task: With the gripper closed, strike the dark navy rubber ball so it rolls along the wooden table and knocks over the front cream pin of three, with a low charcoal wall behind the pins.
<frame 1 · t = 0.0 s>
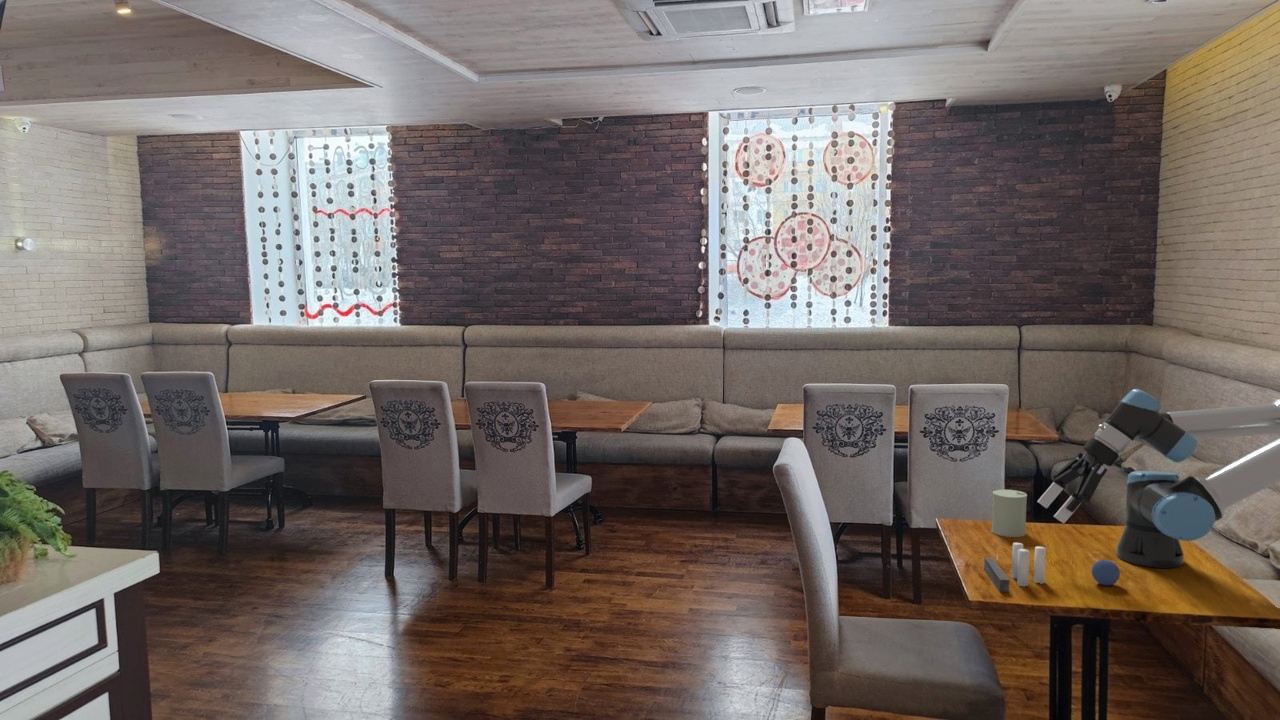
hand: (1049, 512, 220), 15 cm above the table, tool tilted 35°, fingers open, 13 cm apart
back wall: (996, 580, 216), on the table
pin front: (1039, 582, 215), on the table
ball: (1105, 572, 212), on the table
can: (1008, 533, 255), on the table
pin back right: (1016, 577, 218), on the table
pin back left: (1022, 584, 213), on the table
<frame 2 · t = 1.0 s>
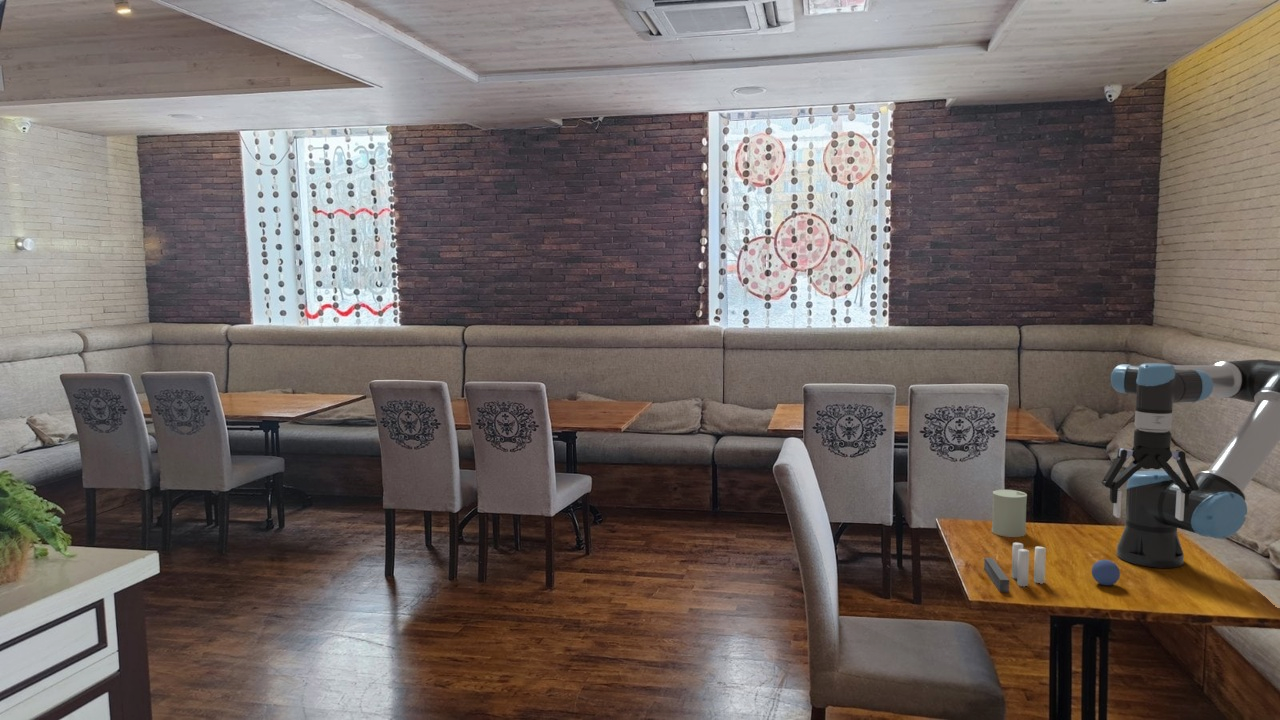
hand: (1147, 517, 210), 17 cm above the table, tool pointing down, fingers open, 13 cm apart
nothing on the table moved.
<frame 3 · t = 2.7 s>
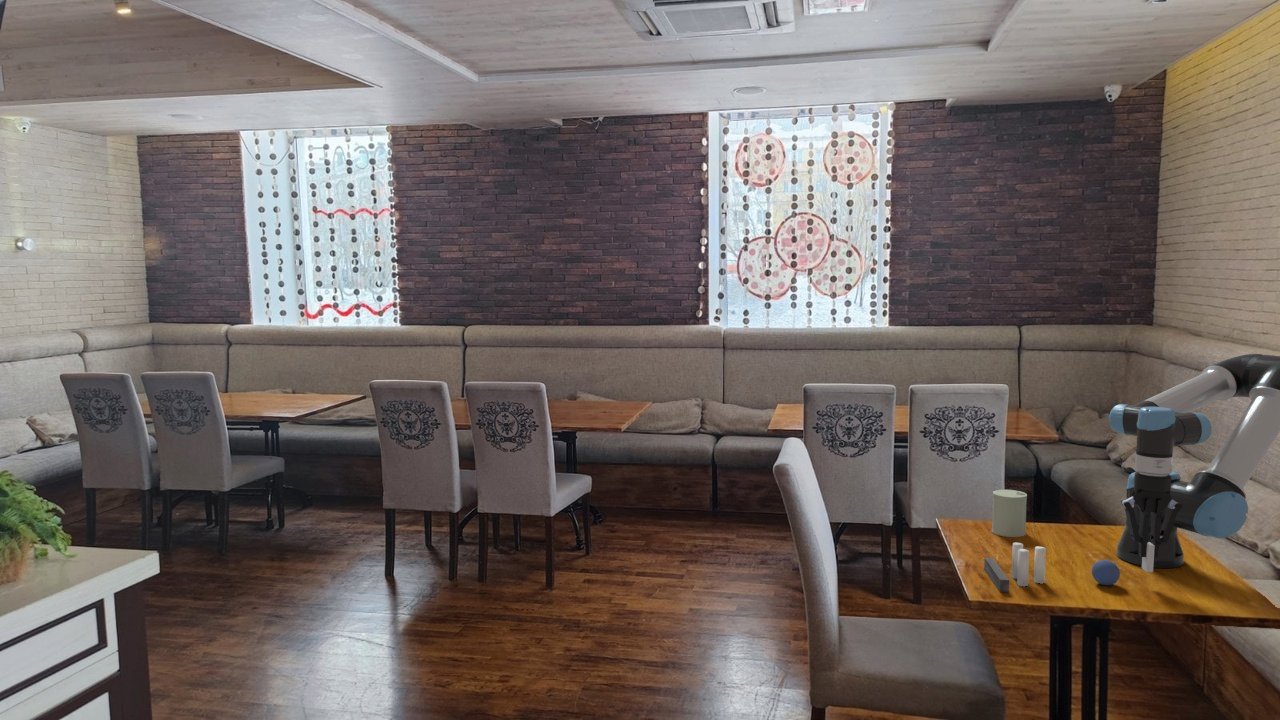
hand: (1147, 570, 210), 4 cm above the table, tool pointing down, fingers closed
nothing on the table moved.
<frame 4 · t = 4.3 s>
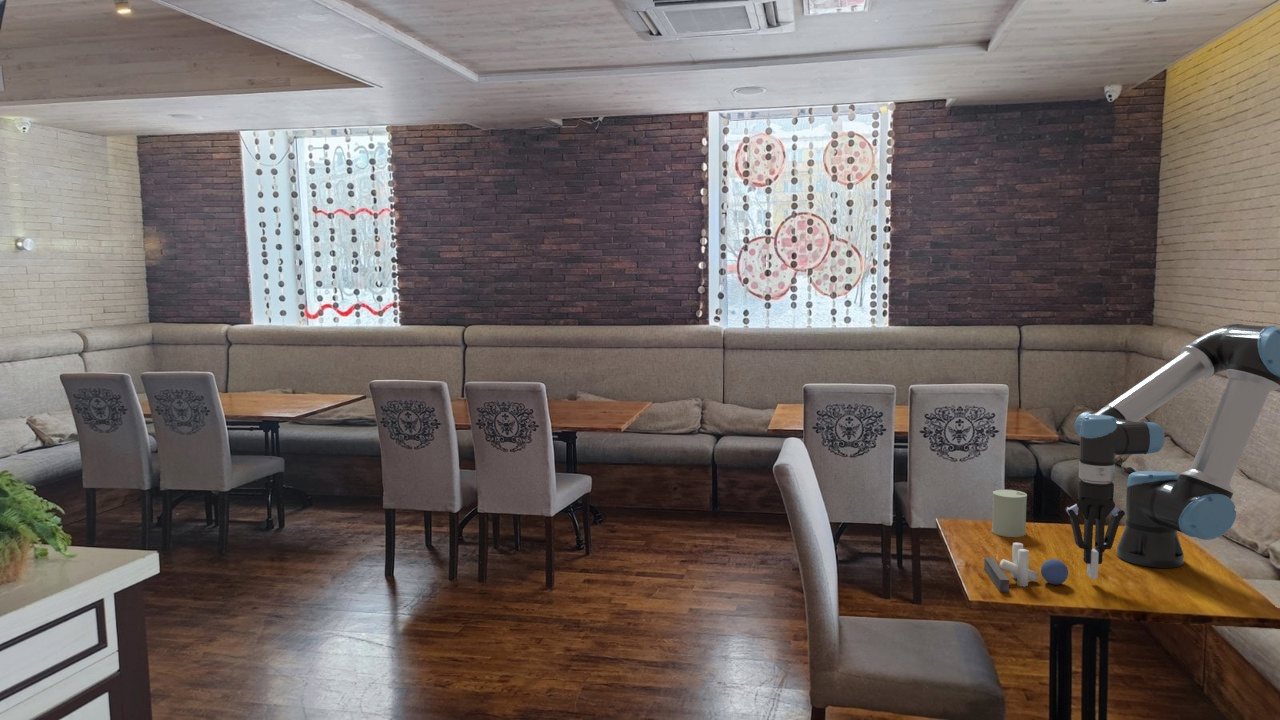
hand: (1092, 576, 213), 2 cm above the table, tool pointing down, fingers closed
pin front: (1035, 577, 215), point 1 cm above the table, tilted 69°, touching back wall
ball: (1054, 571, 213), on the table
everything else where it was.
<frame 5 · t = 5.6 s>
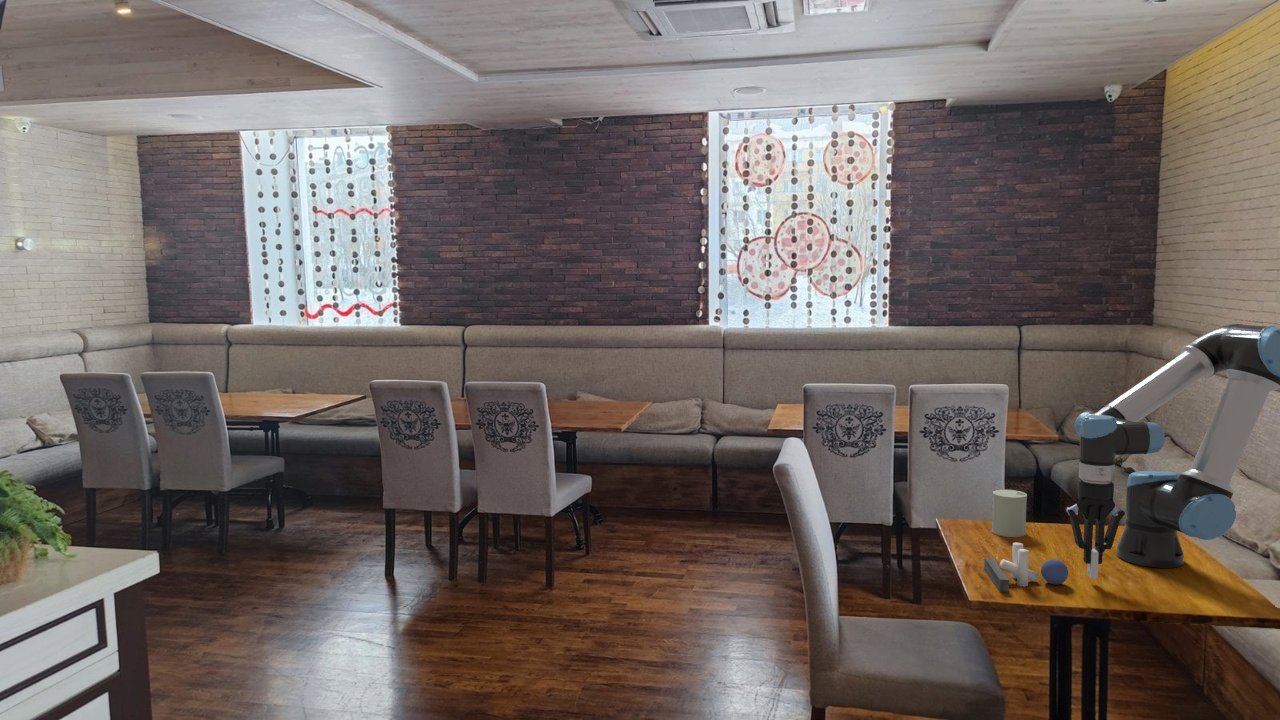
hand: (1092, 576, 213), 2 cm above the table, tool pointing down, fingers closed
nothing on the table moved.
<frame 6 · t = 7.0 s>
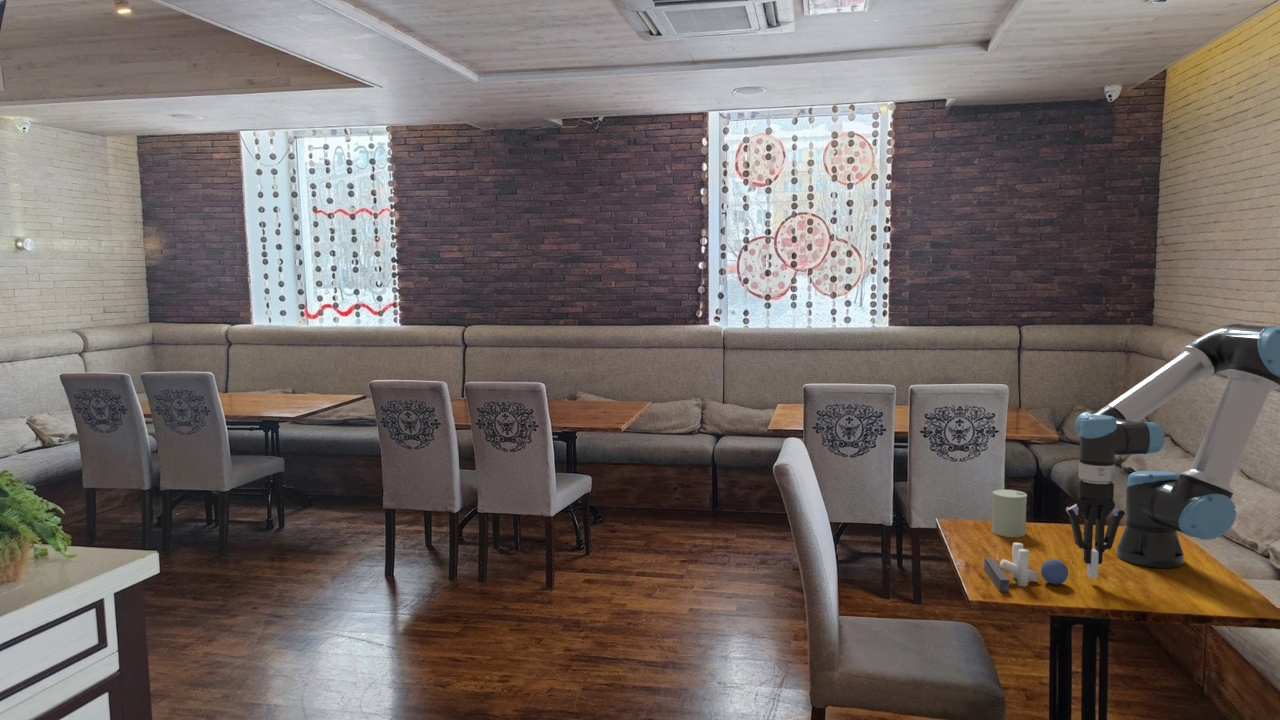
hand: (1092, 576, 213), 2 cm above the table, tool pointing down, fingers closed
nothing on the table moved.
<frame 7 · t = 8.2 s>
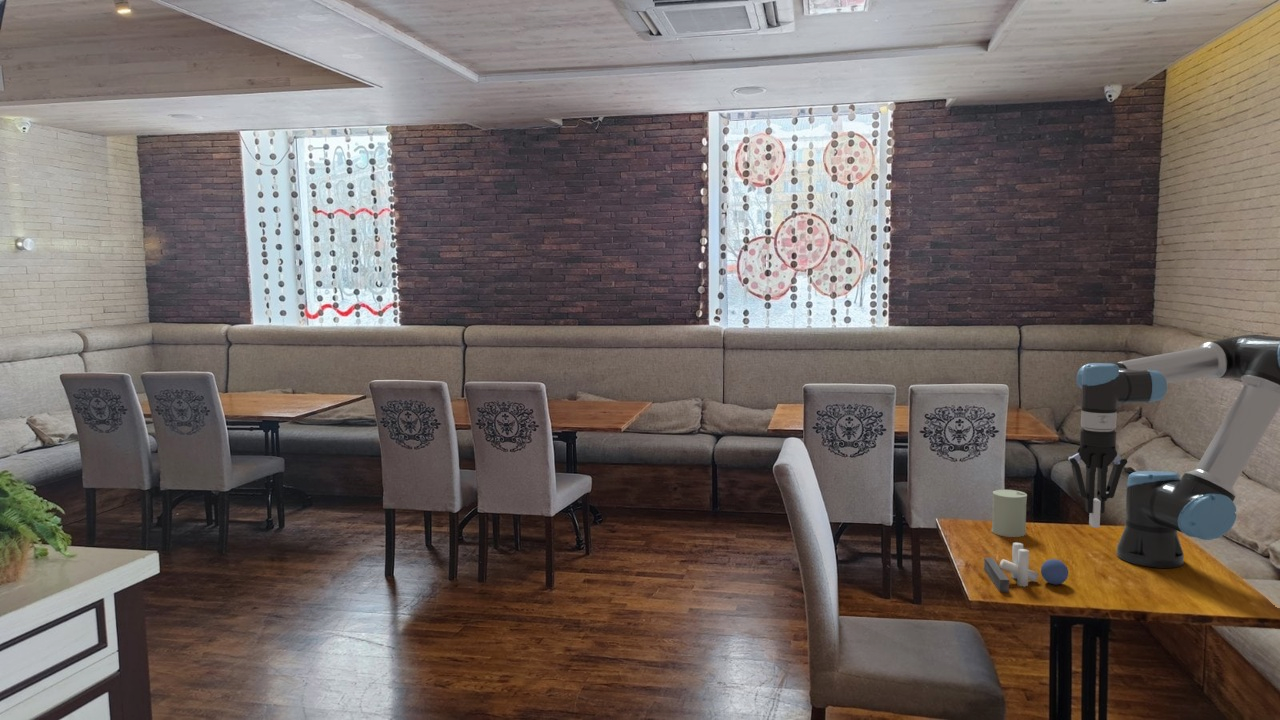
hand: (1094, 525, 211), 14 cm above the table, tool pointing down, fingers closed
nothing on the table moved.
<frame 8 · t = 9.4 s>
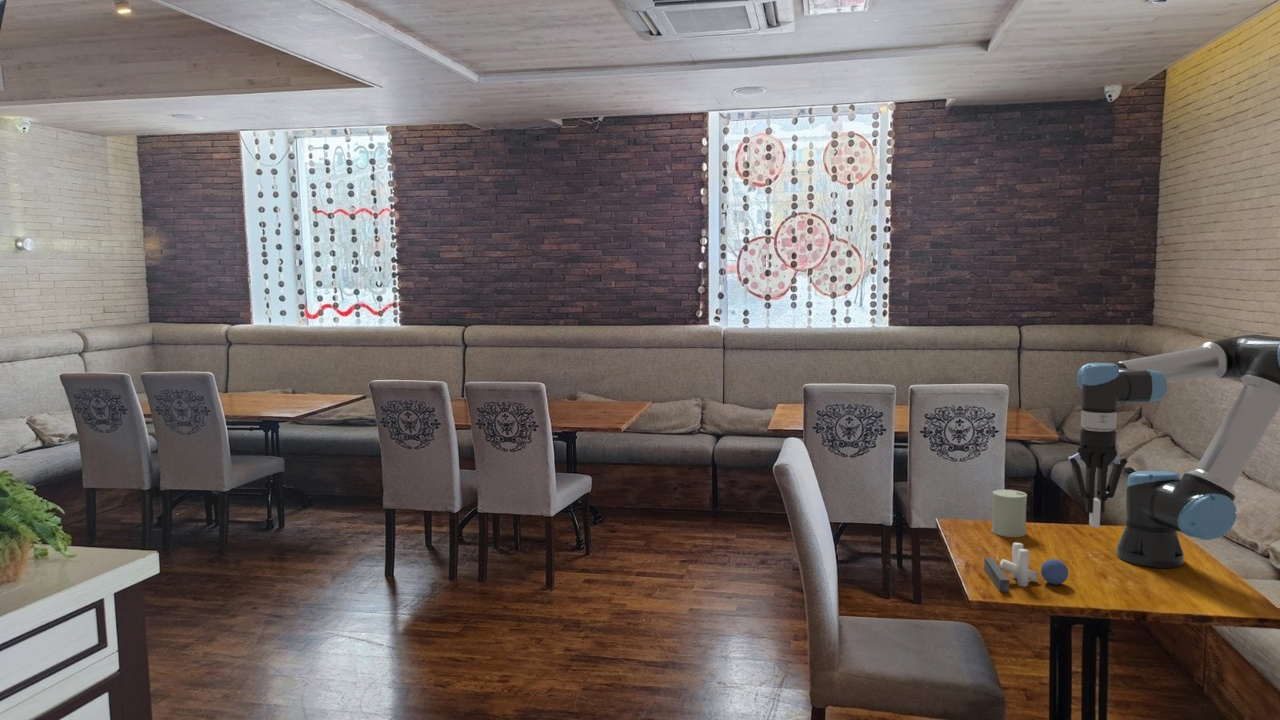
hand: (1094, 525, 211), 14 cm above the table, tool pointing down, fingers closed
nothing on the table moved.
at the end: pin front tilted 69°; pin front never touched the robot; ball moved 11.9 cm from its start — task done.
